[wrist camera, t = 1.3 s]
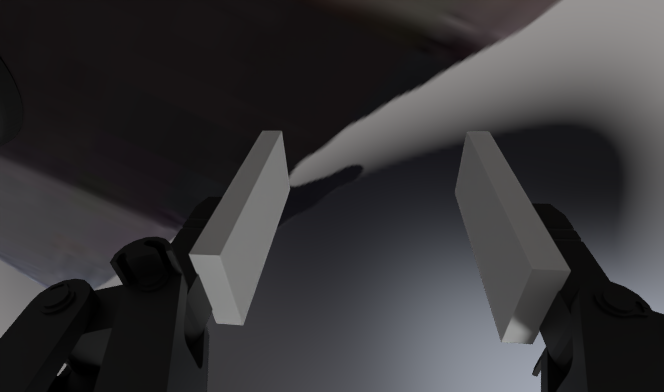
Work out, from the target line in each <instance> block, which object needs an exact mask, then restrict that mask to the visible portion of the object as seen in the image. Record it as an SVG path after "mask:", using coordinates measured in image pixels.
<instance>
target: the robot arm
mask: <svg viewBox="0 0 664 392" xmlns="http://www.w3.org/2000/svg"><path fill="white" fill-rule="evenodd" d="M22 120H23V109H22V103H21V99H20V95H19V92H18V90H17V87H16V85H15V83H14V80H13V78H12V77H11V75H10V73H9V71H8V70H7V68H6V66H5V65H4V63H3V62H2V60H1V59H0V146H2V145H3V144H5V143H7V142H9V141H11V140H12V139H13V138H14V137H15V136H16V135H17V134H18V132H19V130H20V128H21V125H22ZM289 191H290V186H289V179H288V172H287V165H286V158H285V151H284V144H283V137H282V131H262V132H261V134H260V136H259V137H258V139H257V141H256V142H255V144H254V146H253V147H252V149H251V151H250V153H249V154H248V156H247V158H246V159H245V161H244V163H243V164H242V166H241V168H240V169H239V171H238V173H237V174H236V176H235V178H234V179H233V181H232V183H231V184H230V186H229V188H228V189H227V191H226V193H225V194H224V196H223V197H208V198H207V199H205V200H204V201H203V202H201V203H200V204H199V205H197V206H196V207H195V209H194V210H193V212H192V213H191V215H190V216H189V220H187V221H186V222H185V224H184V225H183V229H181V230H180V231H179V233H178V234H177V235H176V237H175V238H174V240H173V241H172V243H171V244H170V243H169V242H168V241H167V240H166V239H164V238H160V237H146V238H143V239H139V240H136V241H133V242H132V243H130V244H128V245H126V246H124V247H123V248H122V249H121V250H119V251H118V252H117V253H116V254H115V255H114V257H113V258H112V260H111V261H110V264H111V265H112V267H113V269H114V270H115V272H116V273H117V275H118V277H119V278H120V280H121V282H122V283H123V285H119V286H114V287H109V288H105V289H100V290H95V291H94V290H93V289H92V287H91V286H90V284H89V283H87V282H86V281H85V280H81V279H71V280H65V281H62V282H59V283H57V284H54V285H52V286H50V287H49V288H47V289H46V290H44V291H43V292H41V293H39V294H38V295H37V296H36V297H35V298H34V299H33V300H32V301H31V302H30V303H29V305H28V306H27V307H26V308H25V309H24V310H23V312H22V313H21V314H20V315H19V316H18V318H17V319H16V320H15V322H14V323H13V324H12V325H11V326H10V327H9V329H8V330H7V331H6V332H5V333H4V335H3V336H2V337H1V338H0V392H207V381H208V355H209V333H208V328H207V326H206V323H207V321H208V319H209V317H210V314H211V312H213V315H214V318H215V320H216V323H219V324H235V325H243V323H244V321H245V318H246V315H247V312H248V309H249V306H250V303H251V300H252V298H253V295H254V292H255V289H256V286H257V283H258V280H259V277H260V275H261V271H262V269H263V266H264V263H265V260H266V257H267V254H268V251H269V248H270V246H271V243H272V240H273V237H274V234H275V231H276V228H277V225H278V223H279V220H280V217H281V214H282V211H283V208H284V205H285V202H286V199H287V197H288V194H289ZM455 195H456V198H457V201H458V205H459V208H460V211H461V214H462V217H463V221H464V224H465V227H466V230H467V233H468V236H469V240H470V243H471V246H472V250H473V253H474V256H475V259H476V262H477V266H478V269H479V272H480V275H481V278H482V282H483V285H484V288H485V291H486V295H487V298H488V301H489V304H490V308H491V311H492V314H493V317H494V320H495V324H496V326H497V330H498V333H499V336H500V340H501V342H507V343H508V342H509V343H523V344H533V342H534V340H535V338H536V336H537V335H538V333H539V331H540V332H541V335H542V337H543V340H544V342H545V344H546V348H545V349H544V351H543V353H542V355H541V356H540V358H539V360H538V362H537V363H536V365H535V367H534V370H533V373H532V375H534V376H538V374H539V372H540V371H541V392H664V314H661V313H658V312H655V311H652V310H651V308H650V306H649V305H648V304H647V303H646V302H645V301H644V300H643V299H642V298H641V297H640V296H639V295H638V294H636V293H634V292H633V291H631V290H629V289H627V288H626V287H624V286H621V285H619V284H616V283H613V282H610V280H609V279H608V277H607V276H606V274H605V273H604V272H603V270H602V269H601V267H600V266H599V264H598V263H597V261H596V260H595V258H594V257H593V255H592V254H591V253H590V251H589V250H588V248H587V247H586V245H585V244H584V243H583V242H581V238H580V237H579V235H578V234H577V232H576V231H574V228H573V226H572V225H571V223H570V222H569V221H568V219H567V218H566V216H565V215H564V214H563V213H561V212H560V211H559V210H557V209H556V208H554V207H553V206H552V205H551V204H532V203H531V202H530V200H529V199H528V197H527V195H526V194H525V192H524V190H523V188H522V187H521V185H520V183H519V182H518V180H517V178H516V177H515V175H514V173H513V172H512V170H511V168H510V166H509V165H508V163H507V161H506V160H505V158H504V156H503V155H502V153H501V151H500V149H499V148H498V146H497V144H496V143H495V141H494V139H493V138H492V136H491V134H490V133H489V131H467V134H466V139H465V144H464V149H463V154H462V159H461V164H460V169H459V174H458V179H457V185H456V190H455ZM64 363H66V364H67V366H66V367H65V369H64V370H63V371H62V372H61V374H60V375H59V376H57V374H58V372H59V371H60V369H61V368H62V366H63V364H64Z"/></svg>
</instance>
